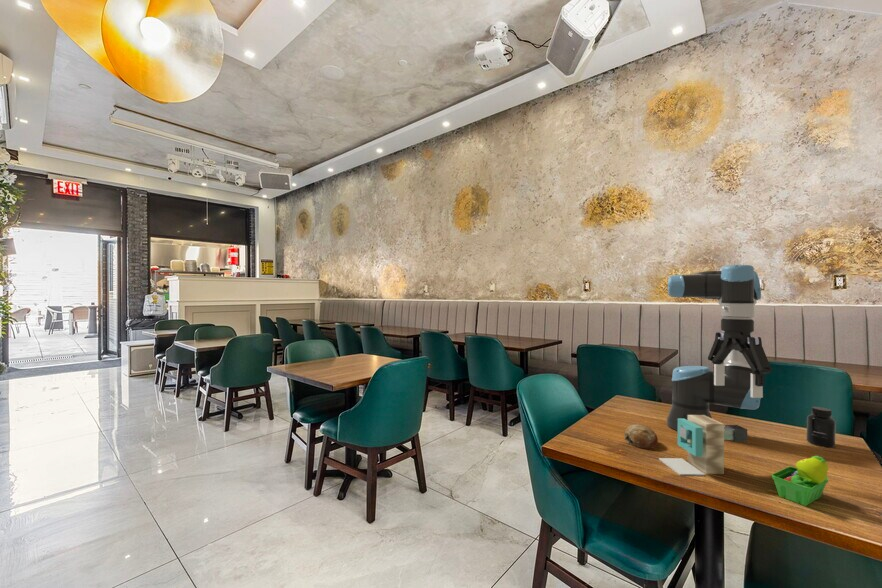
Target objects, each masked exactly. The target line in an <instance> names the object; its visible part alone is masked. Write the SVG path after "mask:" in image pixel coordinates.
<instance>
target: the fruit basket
mask: <svg viewBox="0 0 882 588" xmlns="http://www.w3.org/2000/svg"><path fill="white" fill-rule="evenodd" d="M828 470H829V465H828V463H827V461H826V459H824V457H822V456H819V455H813V456H811V457H809V458H805V459H801V460H798V461H797V462H796V463H795V467H794V466H787V467H785V468H783V469H781V470H779V471H776V472H774V473H772V474H771V477H772V480H774V481H773V482H774V484H775V487H776V488H775V489H776V491H777V493H778V496H779V497H780V498H784V499H786V500H788V501H791V502H794V503H795V504H799V505H801V506H804V507H807V506H808V505H810V504H812V503H813V502H815V501H816V500H818V499H820V498H821V497H822V495H823V493H824V490H825V487H826V484H827V483H828V482H829V480H830V479H829V478H828Z"/></svg>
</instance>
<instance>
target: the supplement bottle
mask: <svg viewBox="0 0 882 588" xmlns="http://www.w3.org/2000/svg"><path fill="white" fill-rule="evenodd" d="M810 412H811V413H810V414H808V415H807V417H806V441H807V442H808V443H810V444H811V445H814V444H815V446H818V445H819V446H818V447H822V446H824V448H834V447H835V446H836V431H837V429H836V428H837V426H836V420H835V419H834V418H832V416H833V413H832V412H833V411H832V409H830V408H826V407H821V406H812V407H811V411H810Z"/></svg>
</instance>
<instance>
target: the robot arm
mask: <svg viewBox="0 0 882 588" xmlns="http://www.w3.org/2000/svg"><path fill="white" fill-rule="evenodd" d="M754 269H755V268H754V266H753V265H751V264H733V265H732V264H731V265H730V264H729V265H724V266H723V267H722V268H721V270H704V271H701V272H695V273H690V274H677V275H675V274H674V275H670V276H669V277H668V278H667V279H668V280H667V293H668V296H669V297H671V298H681V299H682V298H698V299H704V300H717V304H718V305H720V308H721V309H720V311H721V312H720V315H721V317H722V318H721V319H720V330H721V331H722V332H717V331H716V332H715V336H714V337H715V338H714V341H713V343H712V345H711V348H710V350H709V353H708V356H707V360H708V361H711V363H712V364H713V367H712V368H713V369H712V371H711V369H710V367H708V366H705V365H702V366H701V365H685V366H678V367H677V366H676V367H674V369H672V378H671V381H672V384H671V385H672V391H671V394H672V395H671V396H672V397H671V407H670V410H669V413H668V415H667V417H666V426H667V427H669V428H670V429H672V430H675V431H677V432H678V418H684V419H686V420H688V415H705V416H707V417H710V418H712V414H711V412H710V404H711V405H718V406H724V407H730V408H738V409H741V410H743V409H745V410H754V411H755V410H758V408H759V407H760V405H761V398H764V393H763V392H764V389H763V388H764V387H765V375H766V374H772V373H773V370H772V367H771V365H770V363H769V360H768V357H767V355H766V352H765V350H764V347H763V342H762V338H761V337H760V336H752V333H754V331H755V321H754V320H753V319H752V318H754V317H755V305H756V304H757V301H759V300H761V298H762V290H761V283H760V279H759V275H758V273H757V272H756V271H755V270H754ZM712 419H713V418H712Z"/></svg>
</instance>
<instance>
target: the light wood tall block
mask: <svg viewBox="0 0 882 588" xmlns="http://www.w3.org/2000/svg"><path fill="white" fill-rule="evenodd" d="M688 421H690V422H692V423H694V424H696V425H698V426H700V427H702V428H703V456H694V455H693V454H691V453H689V452H688V451H686V452H687V454H686V456H687V457H686V458H687V459H686V461H687V462H688V463H689V464H691V465H692V466H694V467H695V468H697V469H698V470H700V471H701V472H703V473H704V474H705V475H724V474H725V440H724V427H725V424H724V423H722V422H720V421H718V420H716V419H714V418H710V417H707V416H705V415H688ZM687 442H688V443H690V444H692V440H687Z"/></svg>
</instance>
